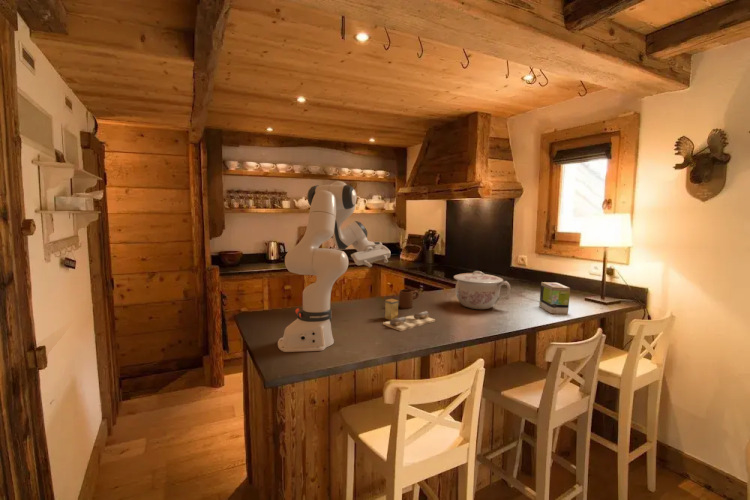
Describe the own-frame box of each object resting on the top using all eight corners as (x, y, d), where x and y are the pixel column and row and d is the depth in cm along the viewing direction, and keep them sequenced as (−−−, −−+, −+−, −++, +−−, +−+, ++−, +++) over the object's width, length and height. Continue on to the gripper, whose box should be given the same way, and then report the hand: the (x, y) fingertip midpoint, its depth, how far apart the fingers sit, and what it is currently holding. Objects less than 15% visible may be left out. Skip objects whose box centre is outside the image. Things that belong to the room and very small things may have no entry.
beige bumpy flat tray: (400, 331, 168) (400, 323, 168) (383, 324, 178) (383, 316, 177) (435, 321, 184) (435, 313, 184) (417, 315, 193) (417, 308, 193)
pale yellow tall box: (391, 320, 184) (391, 301, 183) (385, 318, 187) (385, 299, 186) (397, 318, 187) (398, 300, 186) (391, 316, 190) (392, 298, 189)
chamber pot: (442, 302, 220) (444, 268, 218) (479, 298, 232) (481, 266, 229) (473, 315, 195) (475, 276, 192) (513, 310, 206) (515, 273, 204)
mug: (414, 304, 216) (415, 288, 215) (421, 307, 209) (422, 291, 208) (396, 306, 211) (396, 289, 210) (402, 309, 204) (403, 292, 203)
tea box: (568, 314, 202) (571, 287, 200) (550, 313, 202) (552, 287, 200) (556, 306, 216) (558, 281, 215) (538, 306, 217) (540, 281, 215)
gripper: (349, 249, 195) (361, 263, 185) (383, 241, 204) (396, 254, 194) (349, 259, 198) (360, 273, 189) (382, 250, 207) (395, 264, 197)
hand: (379, 264), depth 191 cm, fingers open, 8 cm apart
